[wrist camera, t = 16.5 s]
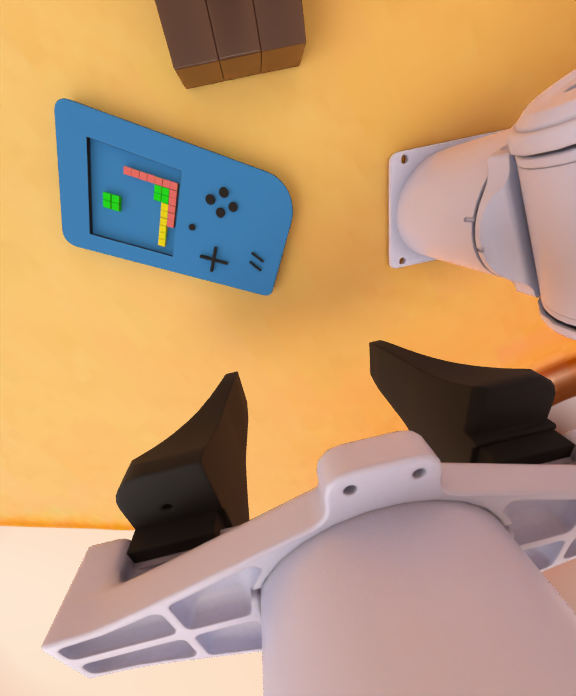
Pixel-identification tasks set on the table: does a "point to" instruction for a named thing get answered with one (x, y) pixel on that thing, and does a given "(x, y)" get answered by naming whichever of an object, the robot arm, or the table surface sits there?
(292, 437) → the table surface
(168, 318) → the table surface
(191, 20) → the brown block with hole
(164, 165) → the handheld gaming device
